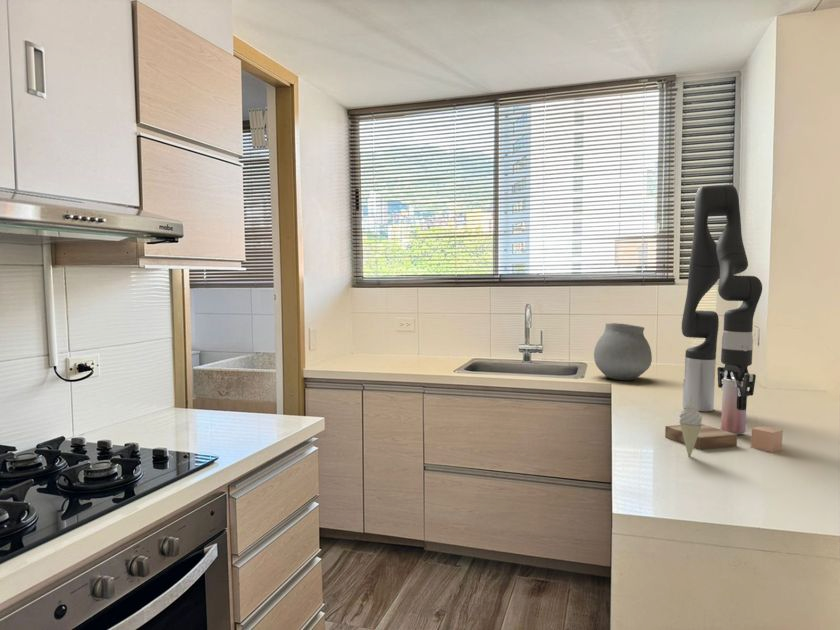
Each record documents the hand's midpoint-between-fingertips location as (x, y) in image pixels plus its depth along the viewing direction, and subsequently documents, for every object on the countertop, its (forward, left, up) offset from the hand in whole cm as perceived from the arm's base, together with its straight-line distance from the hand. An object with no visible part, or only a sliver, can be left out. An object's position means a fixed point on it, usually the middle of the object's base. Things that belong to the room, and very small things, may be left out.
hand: (734, 406), depth 156 cm
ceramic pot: (-93, +7, -8) cm, 93 cm away
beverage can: (0, 0, -7) cm, 7 cm away
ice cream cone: (+21, -24, -8) cm, 33 cm away
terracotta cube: (+14, 0, -8) cm, 16 cm away
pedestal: (+8, -14, -8) cm, 18 cm away
